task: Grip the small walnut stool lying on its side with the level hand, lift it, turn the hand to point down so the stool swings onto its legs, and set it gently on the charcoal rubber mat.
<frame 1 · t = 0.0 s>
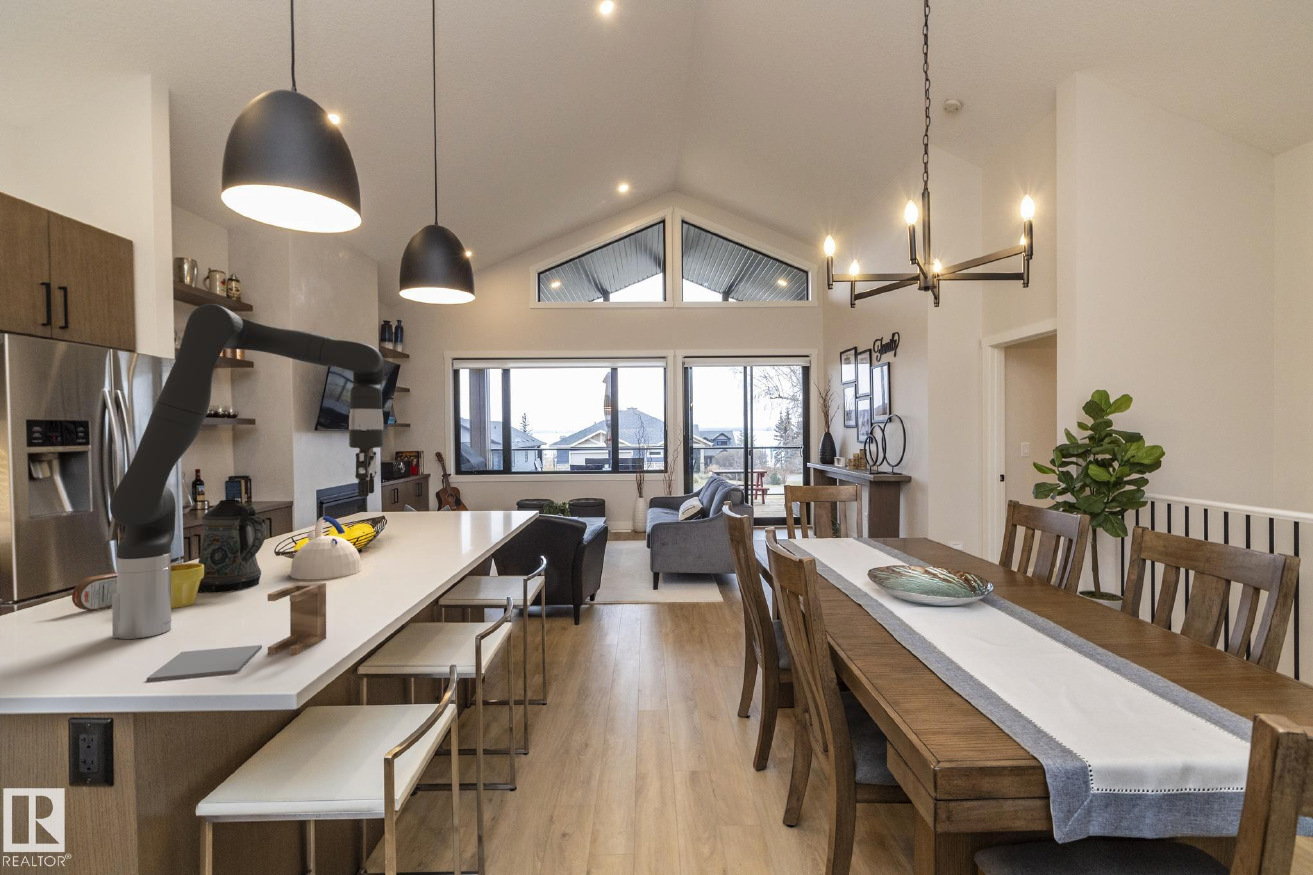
hand: (366, 495, 150), 29 cm above the counter, tool pointing down, fingers open, 8 cm apart
stool: (298, 645, 129), on the counter
plant pot: (179, 605, 161), on the counter
beer stein: (233, 586, 180), on the counter
kettle: (326, 573, 198), on the counter
tin: (111, 607, 159), on the counter
mat: (208, 663, 119), on the counter
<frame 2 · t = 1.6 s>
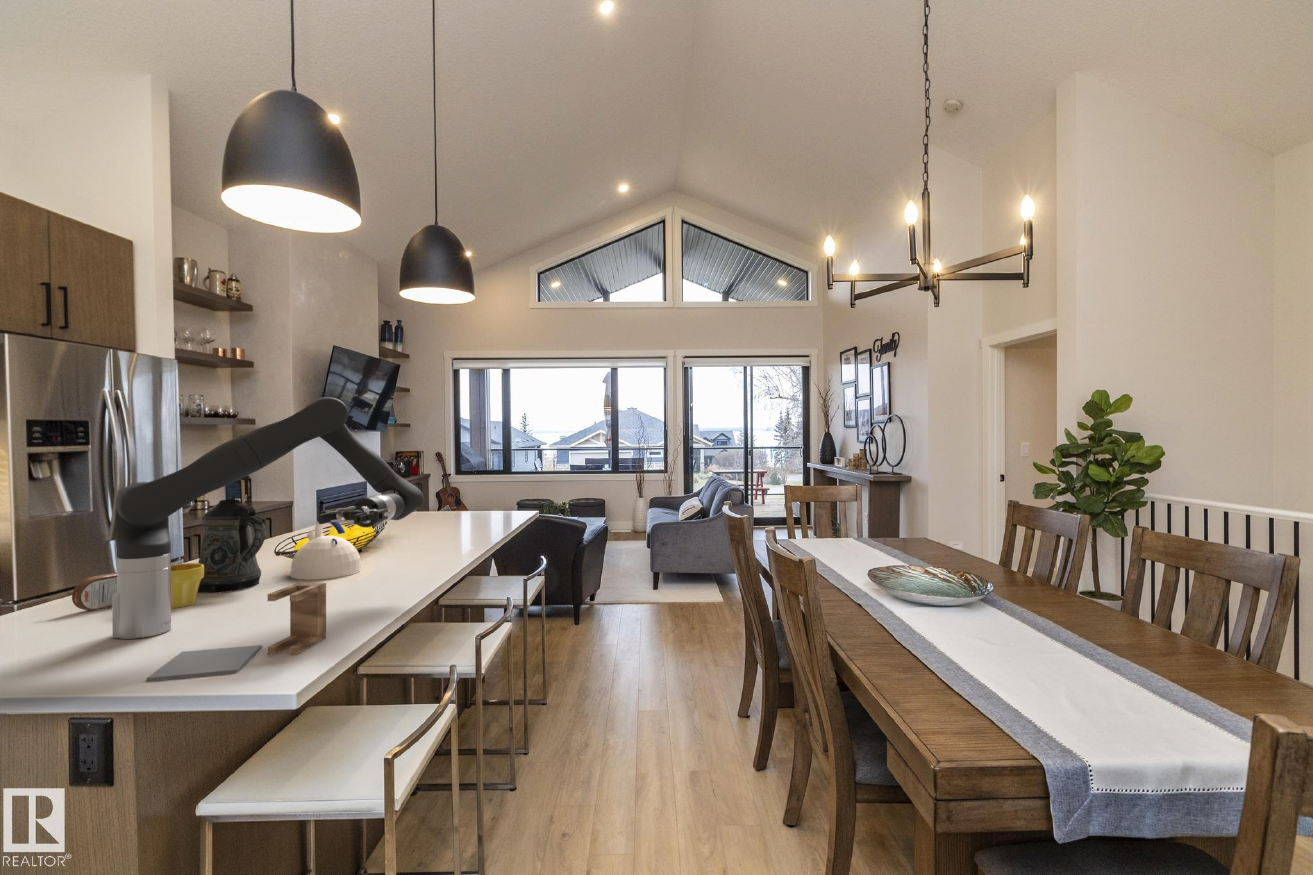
hand: (337, 519, 143), 24 cm above the counter, tool horizontal, fingers open, 8 cm apart
nothing on the counter moved.
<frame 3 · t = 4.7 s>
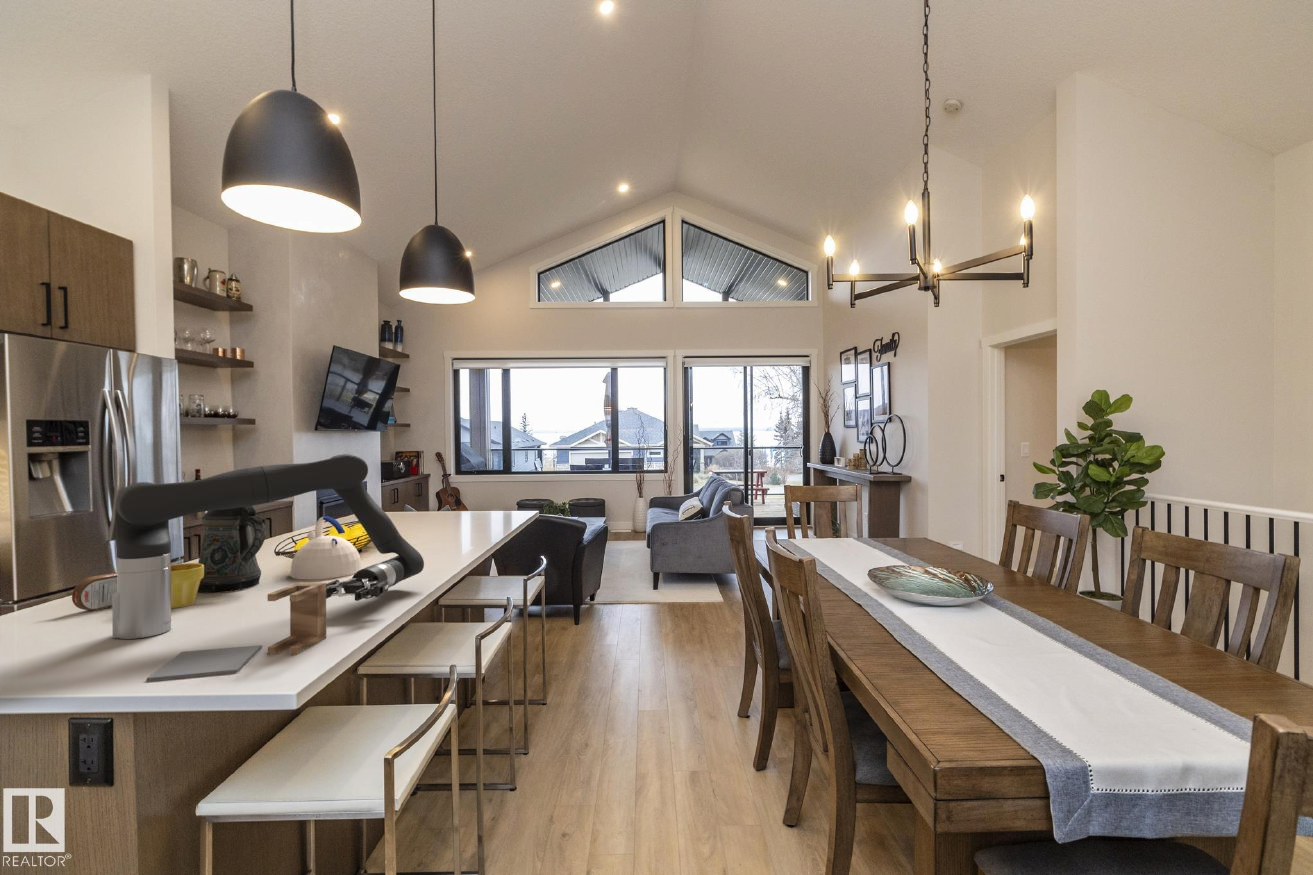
hand: (338, 596, 143), 7 cm above the counter, tool horizontal, fingers open, 8 cm apart
nothing on the counter moved.
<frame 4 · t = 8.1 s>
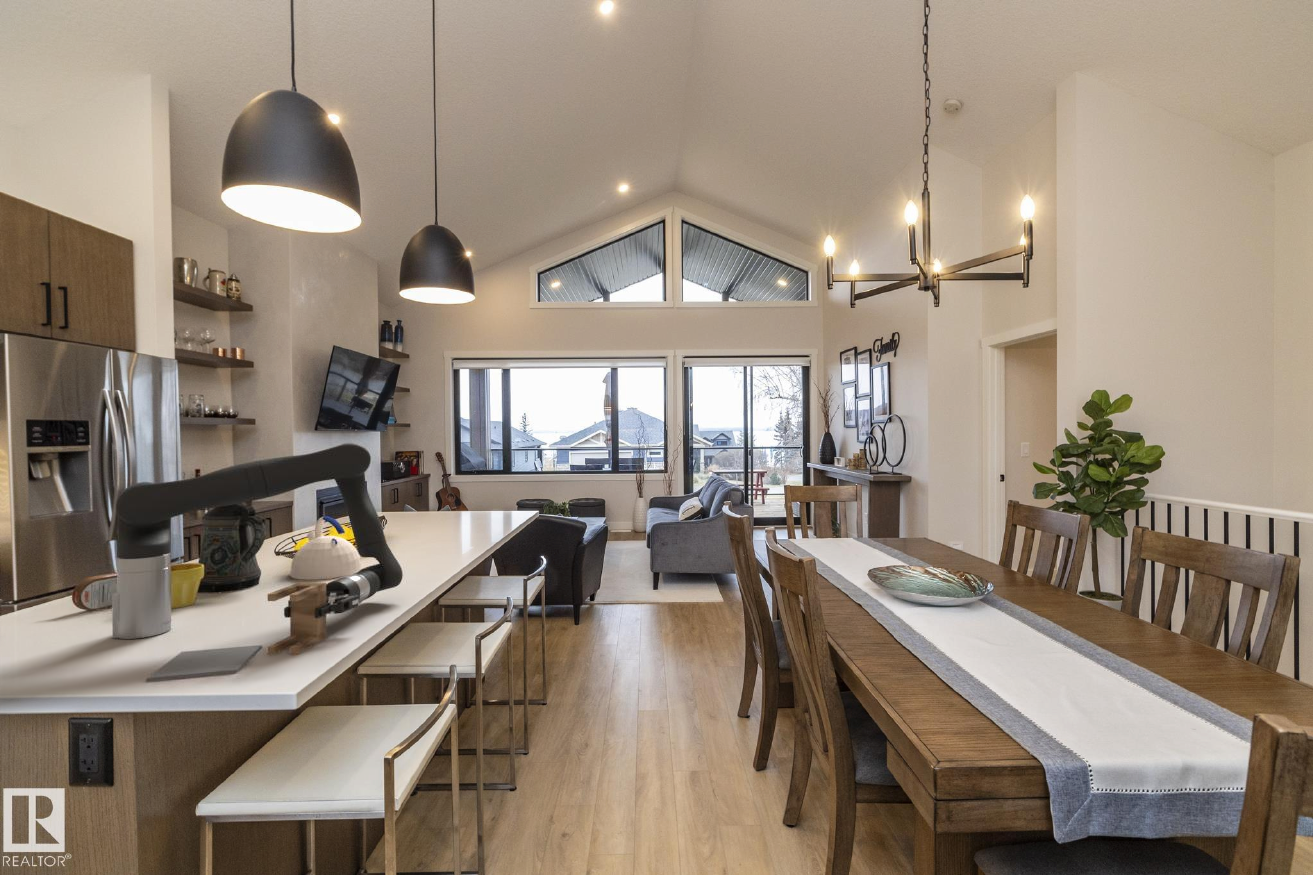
hand: (301, 613, 130), 7 cm above the counter, tool horizontal, fingers closed on stool, 6 cm apart
stool: (298, 645, 129), on the counter, touching gripper
everything else where it was.
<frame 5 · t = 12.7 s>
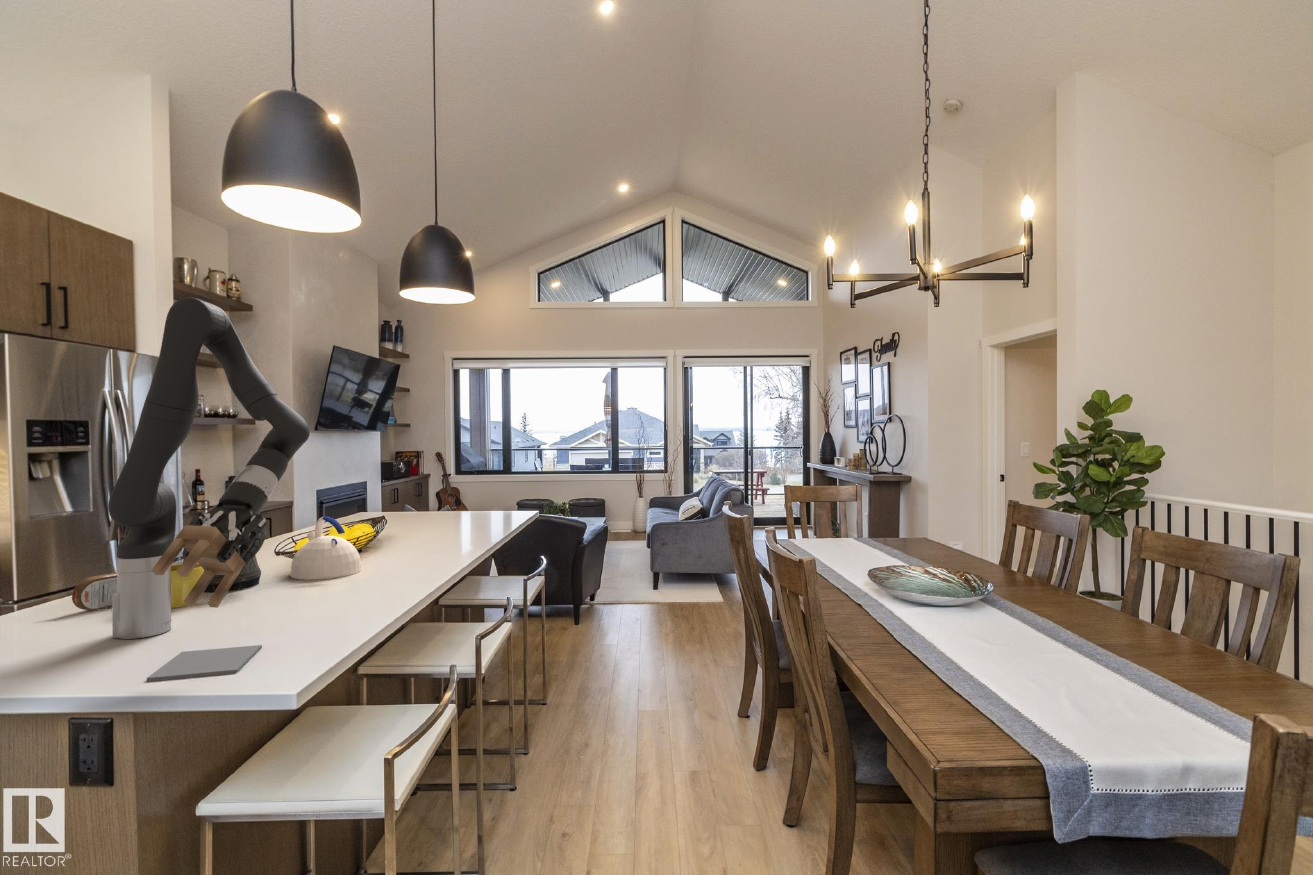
hand: (203, 559, 118), 20 cm above the counter, tool tilted 45°, fingers closed on stool, 6 cm apart
stool: (217, 583, 122), point 15 cm above the counter, tilted 45°, touching gripper
everything else where it was.
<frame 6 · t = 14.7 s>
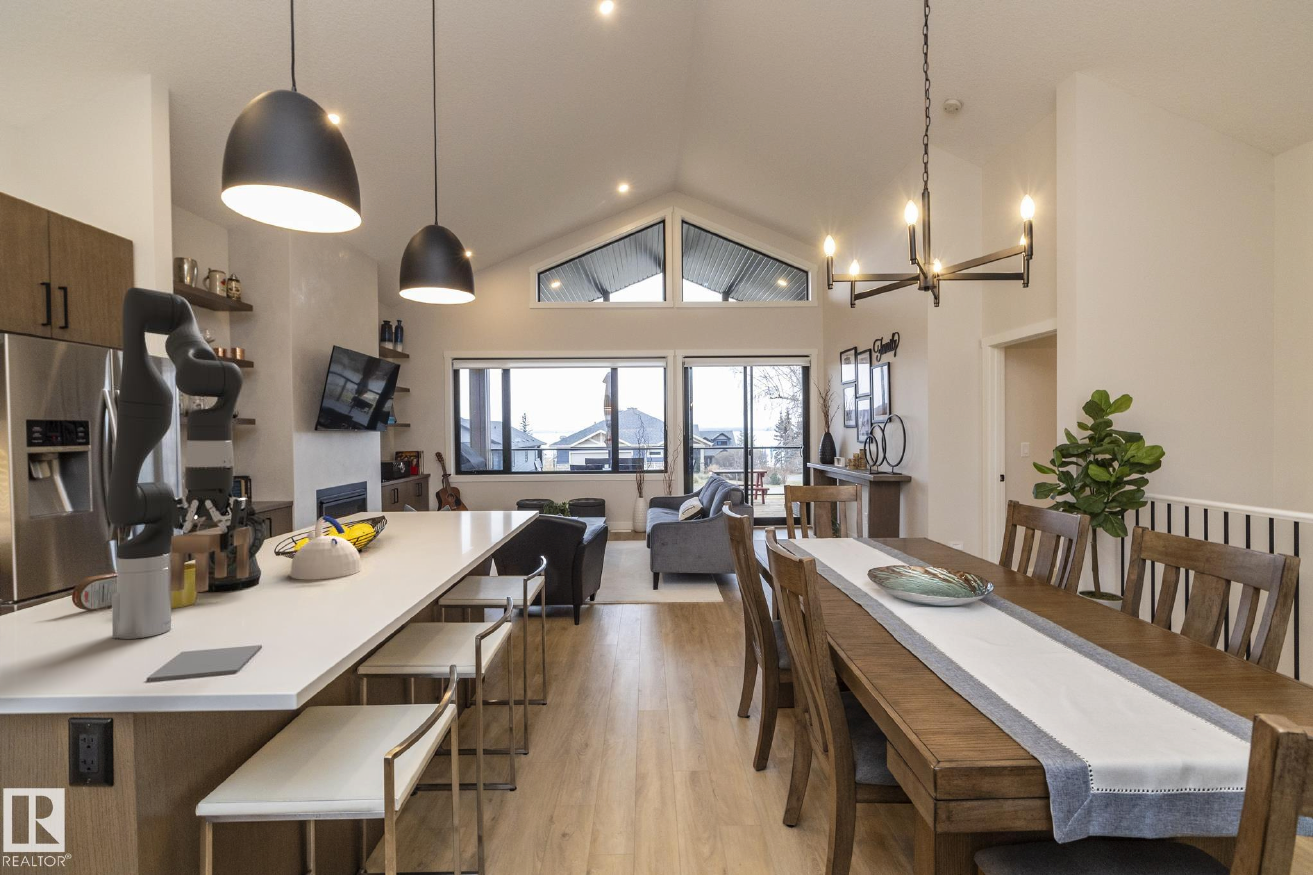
hand: (209, 551, 119), 21 cm above the counter, tool pointing down, fingers closed on stool, 6 cm apart
stool: (234, 551, 126), point 20 cm above the counter, tilted 90°, touching gripper
everything else where it was.
when the fingers open (8 cm above the counter, at t = 19.5 s): stool stays where it is, resting on mat.
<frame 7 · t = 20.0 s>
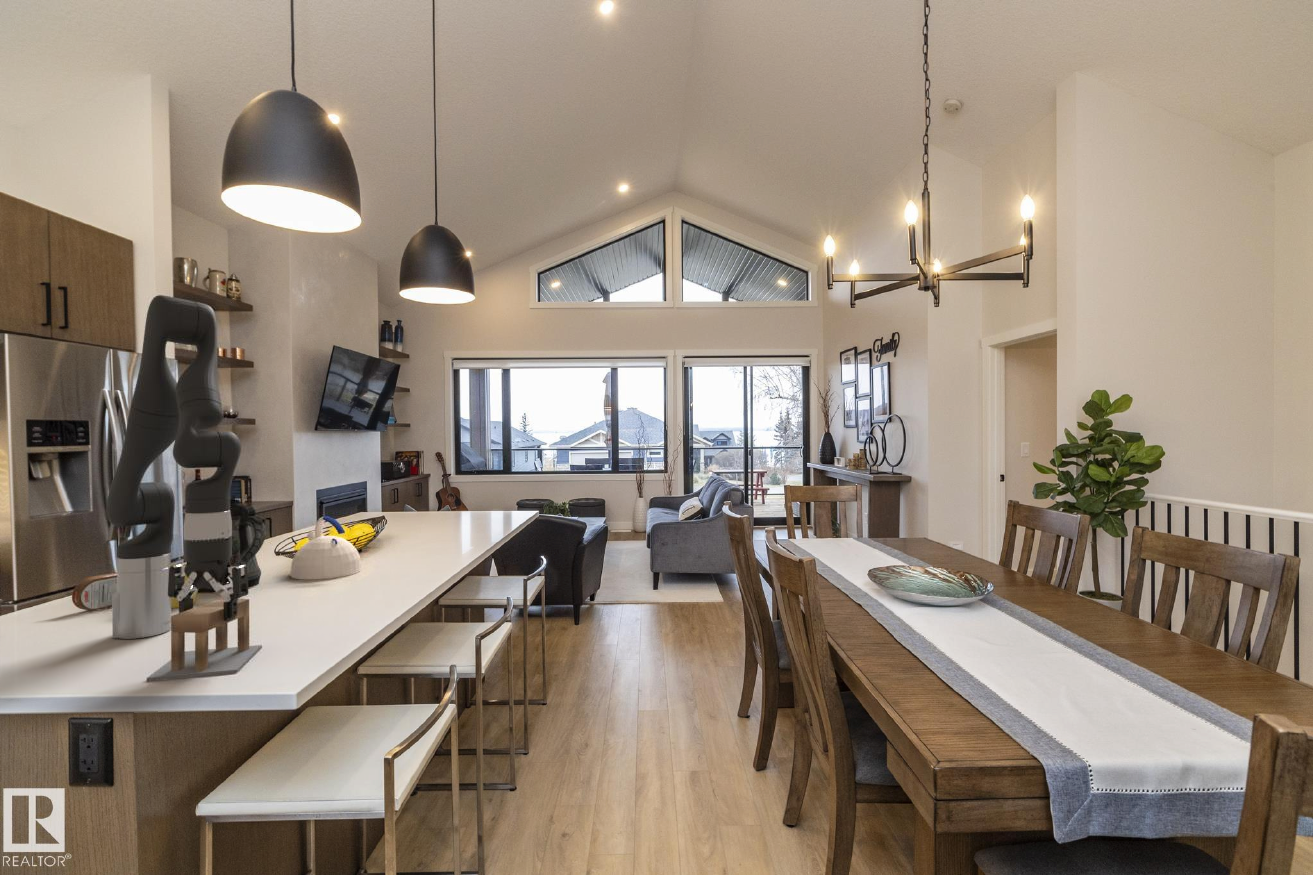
hand: (208, 619, 119), 8 cm above the counter, tool pointing down, fingers open, 8 cm apart
stool: (235, 623, 126), point 6 cm above the counter, tilted 90°, touching mat
everything else where it was.
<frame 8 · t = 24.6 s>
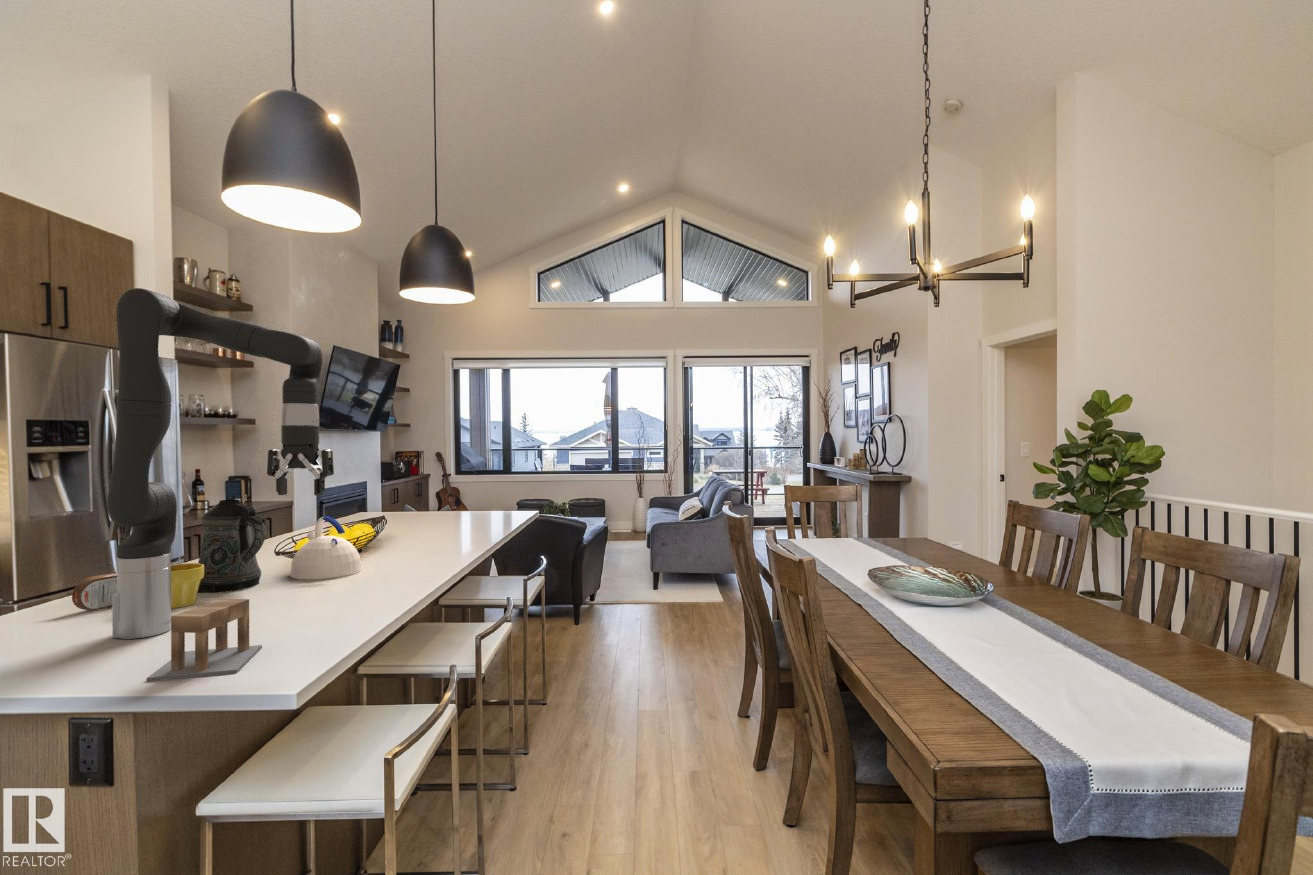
hand: (300, 495, 142), 30 cm above the counter, tool pointing down, fingers open, 8 cm apart
nothing on the counter moved.
at the end: stool touching mat; stool tilted 90°; stool inside the target area on the mat (3.5 cm from its centre), point 5.6 cm above the mat's base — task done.
